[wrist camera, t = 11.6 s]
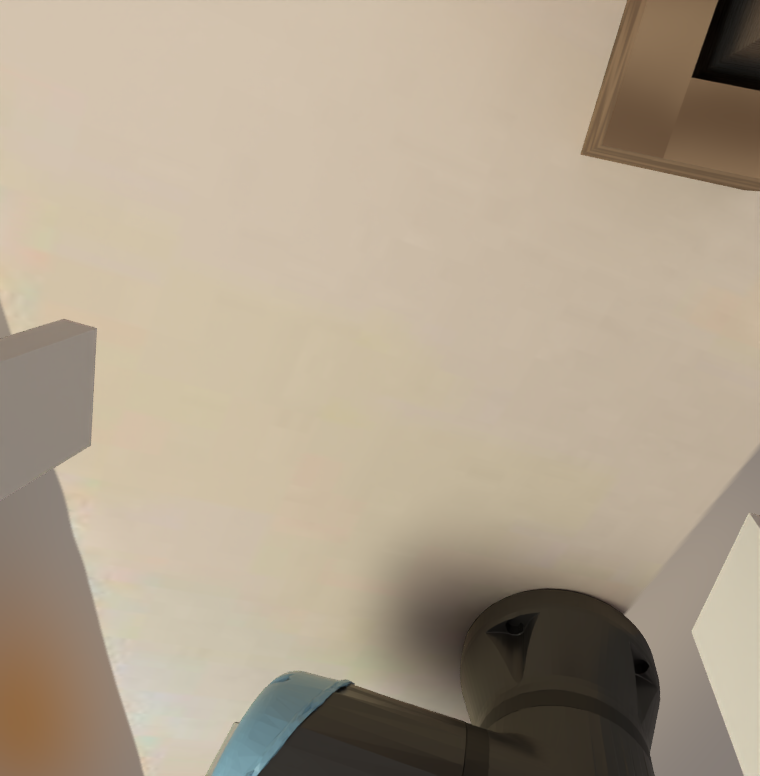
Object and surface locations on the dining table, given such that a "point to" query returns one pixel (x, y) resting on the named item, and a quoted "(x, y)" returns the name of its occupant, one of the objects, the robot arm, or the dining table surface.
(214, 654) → the dining table surface
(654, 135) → the wooden planter box
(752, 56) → the grey slab
